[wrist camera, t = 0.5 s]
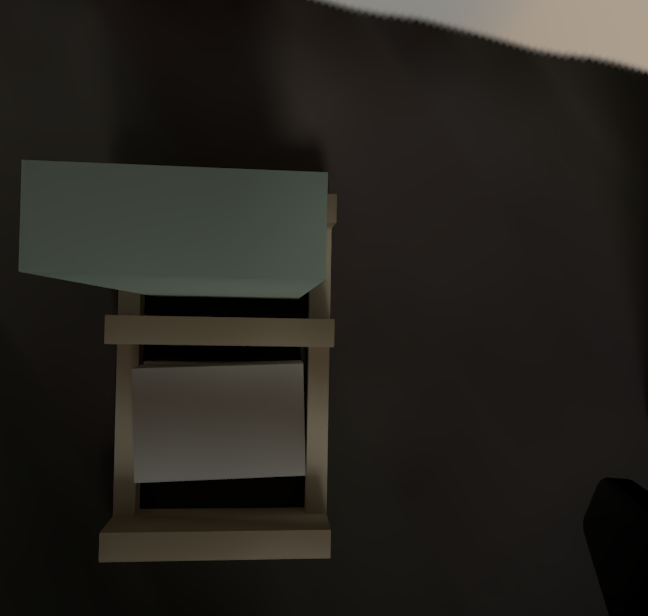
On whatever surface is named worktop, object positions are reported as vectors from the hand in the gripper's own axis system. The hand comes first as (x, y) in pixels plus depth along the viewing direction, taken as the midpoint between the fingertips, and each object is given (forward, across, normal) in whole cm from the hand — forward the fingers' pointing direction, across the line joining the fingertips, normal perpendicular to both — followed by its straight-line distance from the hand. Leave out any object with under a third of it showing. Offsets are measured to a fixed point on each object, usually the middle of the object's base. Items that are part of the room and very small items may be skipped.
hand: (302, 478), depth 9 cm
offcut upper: (+12, +2, +8) cm, 14 cm away
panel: (+15, +3, +3) cm, 15 cm away
